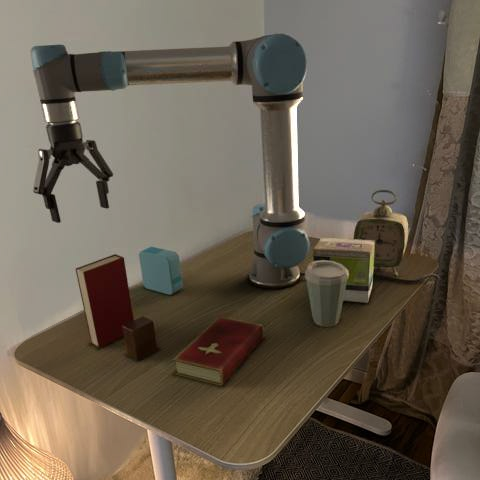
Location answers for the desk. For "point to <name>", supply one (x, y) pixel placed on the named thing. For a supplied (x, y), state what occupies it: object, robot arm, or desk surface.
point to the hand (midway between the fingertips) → (81, 214)
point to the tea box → (350, 264)
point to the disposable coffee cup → (326, 290)
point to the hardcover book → (218, 350)
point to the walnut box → (140, 338)
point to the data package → (161, 270)
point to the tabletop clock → (384, 233)
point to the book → (105, 298)
